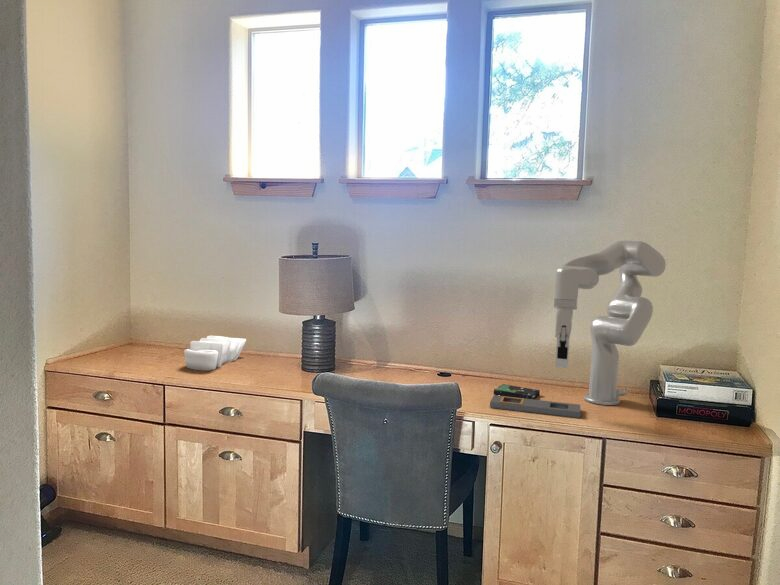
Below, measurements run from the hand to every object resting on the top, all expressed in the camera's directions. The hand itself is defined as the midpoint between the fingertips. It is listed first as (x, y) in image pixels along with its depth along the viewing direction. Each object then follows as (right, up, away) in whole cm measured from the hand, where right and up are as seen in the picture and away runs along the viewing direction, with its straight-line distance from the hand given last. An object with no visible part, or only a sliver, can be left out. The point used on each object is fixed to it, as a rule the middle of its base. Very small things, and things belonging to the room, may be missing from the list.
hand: (562, 356), depth 210 cm
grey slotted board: (-8, -19, +4) cm, 21 cm away
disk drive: (-11, -18, +22) cm, 30 cm away
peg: (0, -3, 0) cm, 3 cm away
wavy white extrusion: (-135, -9, +58) cm, 147 cm away
